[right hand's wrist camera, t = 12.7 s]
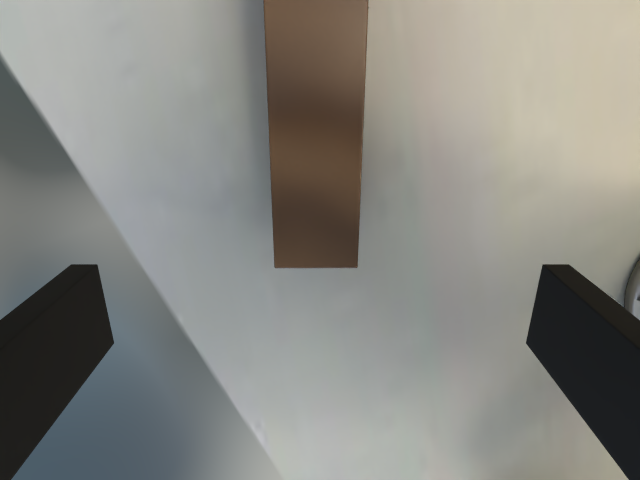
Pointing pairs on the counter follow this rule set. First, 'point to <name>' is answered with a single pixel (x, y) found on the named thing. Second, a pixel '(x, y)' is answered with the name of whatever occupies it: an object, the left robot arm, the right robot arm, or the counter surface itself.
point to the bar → (315, 128)
